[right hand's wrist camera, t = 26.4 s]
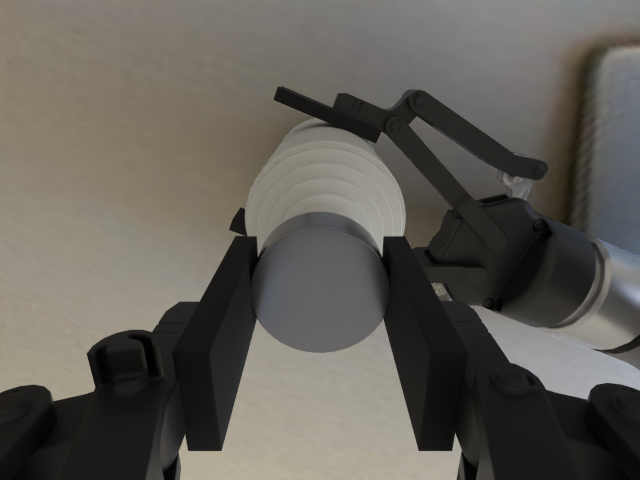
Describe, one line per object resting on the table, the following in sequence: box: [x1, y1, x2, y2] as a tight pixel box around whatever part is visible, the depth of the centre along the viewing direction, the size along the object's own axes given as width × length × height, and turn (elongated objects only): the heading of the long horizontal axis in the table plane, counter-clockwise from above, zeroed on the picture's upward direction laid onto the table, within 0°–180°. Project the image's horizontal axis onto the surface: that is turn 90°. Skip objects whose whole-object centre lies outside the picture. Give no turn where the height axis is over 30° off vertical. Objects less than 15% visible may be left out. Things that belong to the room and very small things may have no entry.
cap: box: [250, 212, 390, 353], centre depth 14 cm, size 5×5×2 cm
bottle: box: [245, 118, 406, 256], centre depth 23 cm, size 8×8×18 cm
